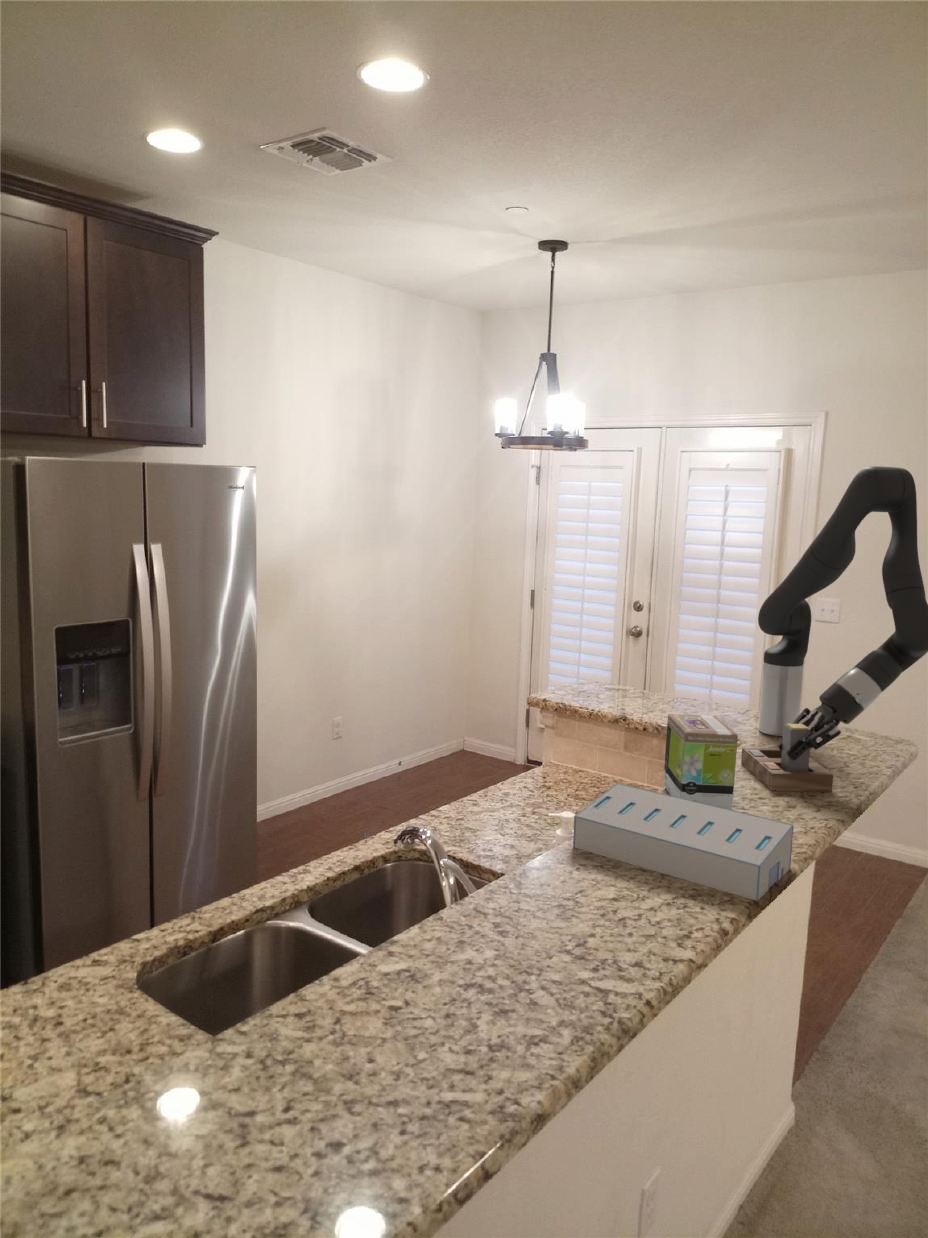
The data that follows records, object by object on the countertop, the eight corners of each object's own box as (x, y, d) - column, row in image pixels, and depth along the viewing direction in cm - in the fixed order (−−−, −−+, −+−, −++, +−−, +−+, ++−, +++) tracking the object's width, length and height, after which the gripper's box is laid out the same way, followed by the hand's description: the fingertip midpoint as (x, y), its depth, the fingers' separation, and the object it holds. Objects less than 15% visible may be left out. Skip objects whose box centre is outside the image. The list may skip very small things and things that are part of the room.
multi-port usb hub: (572, 849, 144) (574, 804, 143) (615, 825, 155) (617, 782, 154) (757, 904, 126) (761, 853, 125) (790, 871, 137) (793, 824, 136)
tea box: (734, 813, 161) (739, 733, 159) (678, 811, 162) (683, 732, 160) (712, 786, 176) (717, 713, 174) (661, 785, 176) (665, 712, 174)
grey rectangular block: (780, 772, 181) (783, 723, 179) (799, 773, 181) (803, 723, 179) (787, 779, 177) (791, 728, 175) (807, 779, 177) (811, 728, 175)
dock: (741, 763, 192) (742, 746, 192) (796, 764, 192) (797, 747, 192) (771, 791, 174) (772, 772, 174) (832, 792, 174) (833, 773, 174)
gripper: (823, 674, 183) (760, 731, 185) (854, 689, 169) (786, 750, 170) (846, 700, 184) (784, 756, 185) (879, 717, 170) (811, 778, 171)
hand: (785, 753), depth 178 cm, fingers closed on grey rectangular block, 4 cm apart
